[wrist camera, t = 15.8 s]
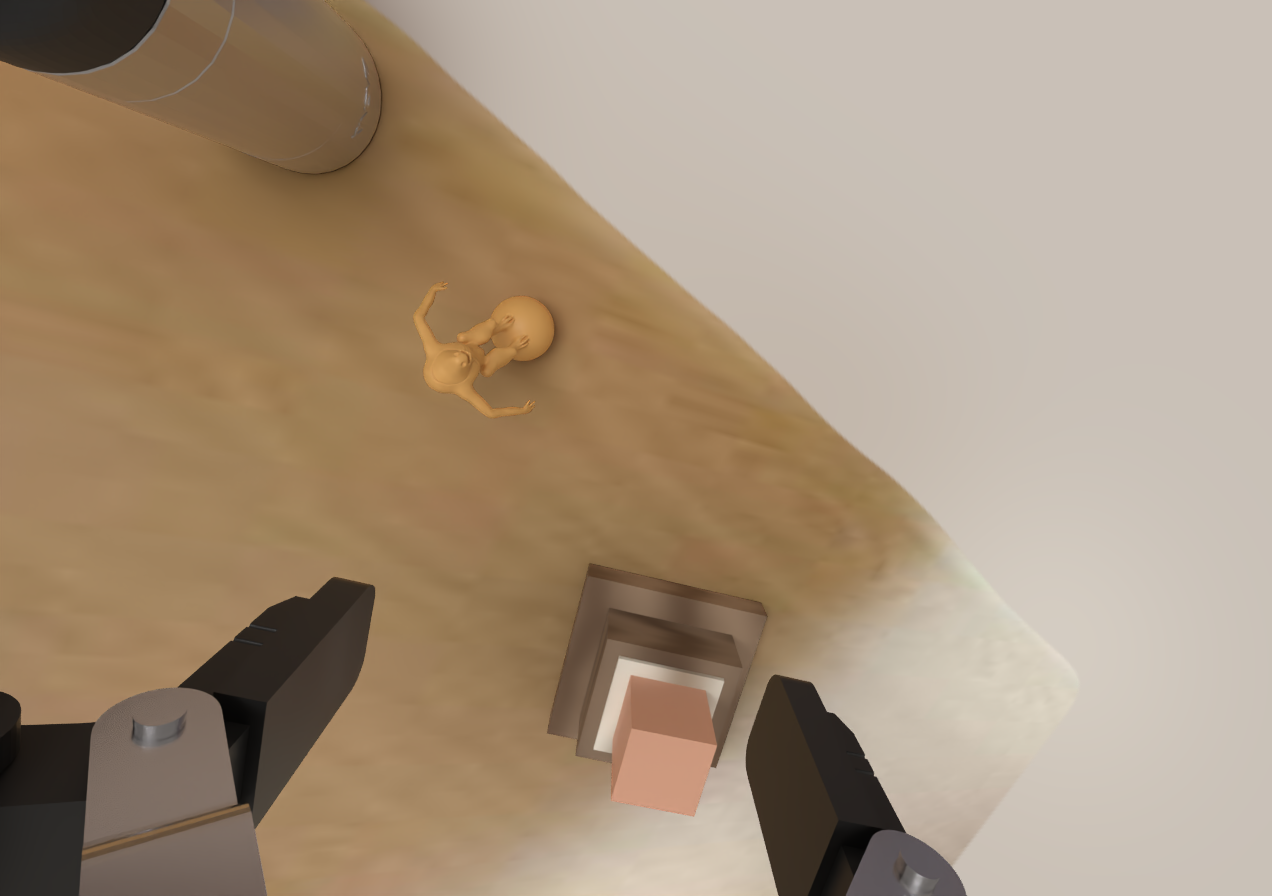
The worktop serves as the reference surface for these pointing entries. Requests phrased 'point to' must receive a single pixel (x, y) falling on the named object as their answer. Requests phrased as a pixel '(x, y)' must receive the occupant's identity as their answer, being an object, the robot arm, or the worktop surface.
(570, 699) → the walnut plinth
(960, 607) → the worktop surface
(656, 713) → the terracotta cube
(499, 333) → the figurine
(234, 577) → the worktop surface
